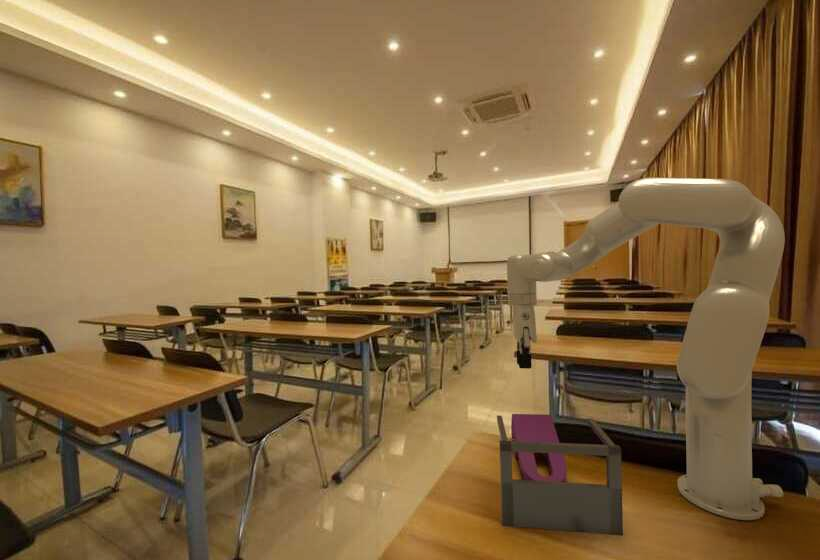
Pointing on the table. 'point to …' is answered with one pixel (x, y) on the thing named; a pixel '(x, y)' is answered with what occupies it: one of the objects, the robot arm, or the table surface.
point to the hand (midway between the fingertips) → (524, 365)
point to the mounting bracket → (537, 431)
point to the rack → (562, 490)
